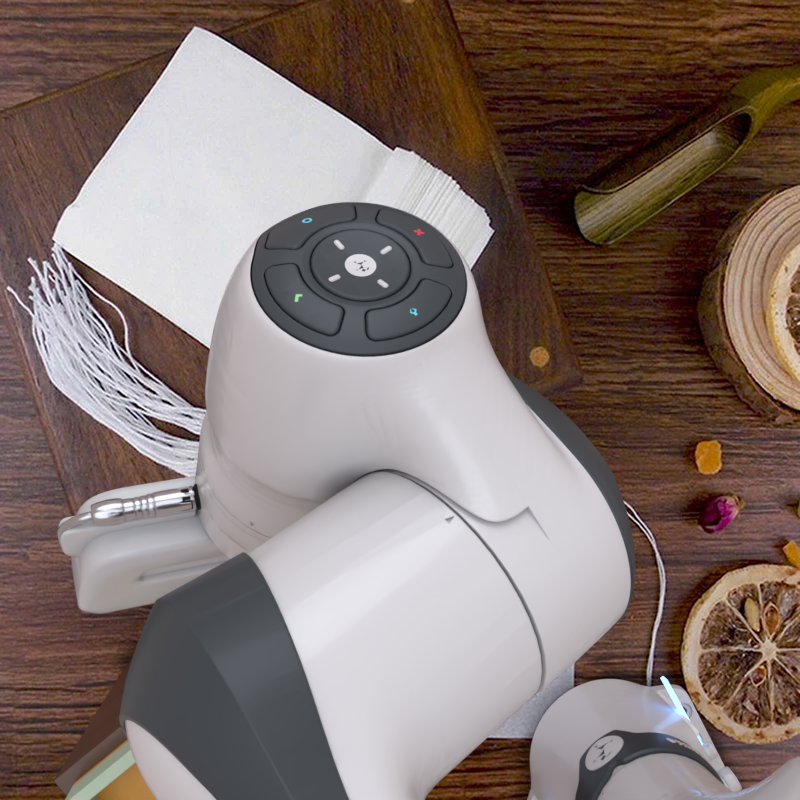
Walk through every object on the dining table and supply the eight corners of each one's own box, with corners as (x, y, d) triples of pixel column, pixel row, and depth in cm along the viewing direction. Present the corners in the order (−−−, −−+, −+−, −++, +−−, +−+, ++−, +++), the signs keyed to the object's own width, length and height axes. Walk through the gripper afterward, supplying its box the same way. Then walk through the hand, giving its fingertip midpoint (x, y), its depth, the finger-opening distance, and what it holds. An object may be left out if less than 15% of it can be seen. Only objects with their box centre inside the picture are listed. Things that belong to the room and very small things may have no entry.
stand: (272, 674, 88) (260, 795, 62) (192, 740, 88) (146, 889, 62) (208, 597, 88) (168, 686, 62) (127, 662, 87) (53, 780, 61)
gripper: (63, 588, 40) (81, 674, 52) (519, 501, 47) (443, 595, 58) (44, 449, 43) (65, 561, 54) (477, 385, 49) (413, 497, 61)
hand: (264, 578), depth 56 cm, fingers open, 8 cm apart
